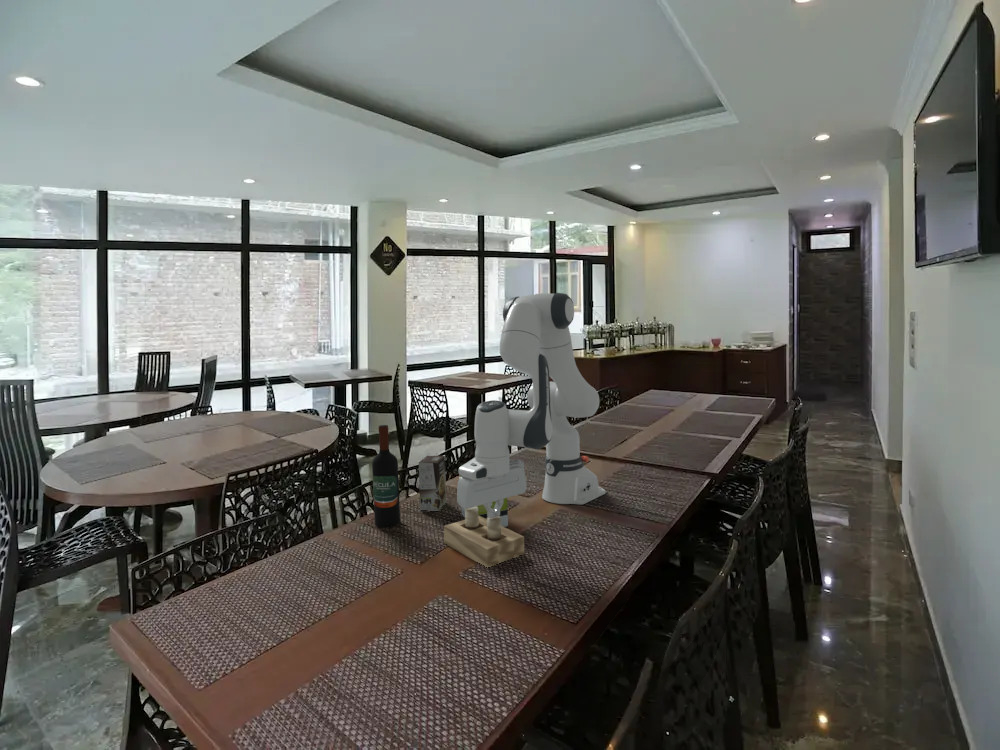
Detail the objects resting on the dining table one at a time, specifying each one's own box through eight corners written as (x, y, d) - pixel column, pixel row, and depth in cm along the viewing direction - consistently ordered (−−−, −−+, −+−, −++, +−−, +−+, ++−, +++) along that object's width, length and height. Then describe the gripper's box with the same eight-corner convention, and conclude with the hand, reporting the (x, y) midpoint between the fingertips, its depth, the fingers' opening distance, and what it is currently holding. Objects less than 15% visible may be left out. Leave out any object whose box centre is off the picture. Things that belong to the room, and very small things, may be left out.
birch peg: (496, 550, 155) (495, 514, 154) (504, 555, 152) (503, 518, 151) (485, 554, 153) (484, 518, 152) (493, 559, 150) (492, 521, 149)
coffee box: (438, 512, 185) (437, 462, 183) (419, 511, 186) (417, 462, 184) (447, 502, 194) (445, 455, 192) (428, 501, 195) (426, 454, 193)
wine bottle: (404, 519, 179) (400, 423, 175) (392, 529, 172) (388, 429, 168) (383, 517, 181) (378, 422, 178) (370, 526, 174) (365, 427, 171)
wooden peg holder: (479, 532, 168) (478, 498, 167) (524, 554, 152) (523, 518, 151) (444, 543, 161) (443, 508, 160) (487, 568, 145) (486, 529, 144)
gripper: (516, 455, 158) (516, 504, 160) (452, 469, 146) (454, 522, 148) (531, 459, 153) (532, 510, 155) (467, 475, 141) (468, 530, 143)
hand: (493, 516), depth 151 cm, fingers closed
